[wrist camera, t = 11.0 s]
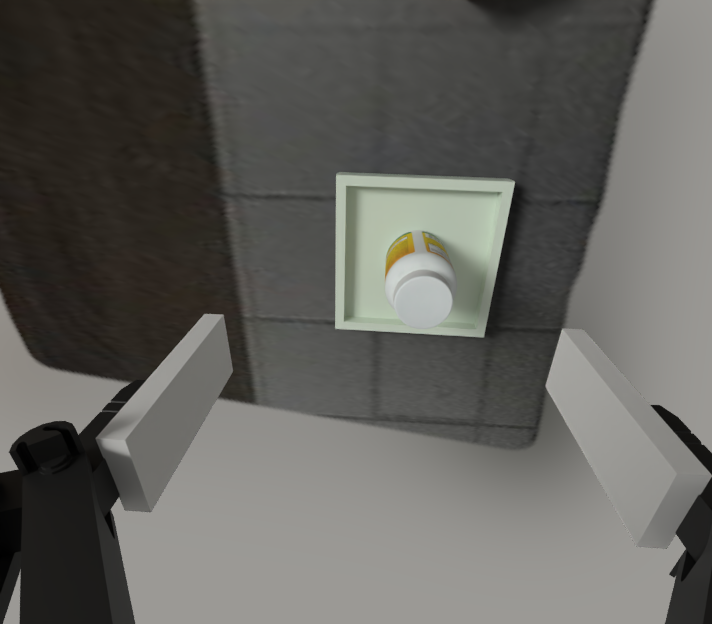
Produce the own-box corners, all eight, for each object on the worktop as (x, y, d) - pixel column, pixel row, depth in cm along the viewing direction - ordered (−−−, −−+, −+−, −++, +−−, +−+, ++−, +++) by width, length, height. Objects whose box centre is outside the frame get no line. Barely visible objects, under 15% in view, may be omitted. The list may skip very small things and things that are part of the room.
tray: (338, 171, 33) (336, 174, 31) (508, 178, 32) (515, 181, 30) (337, 319, 39) (335, 328, 37) (479, 328, 38) (483, 337, 37)
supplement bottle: (447, 227, 34) (468, 265, 25) (444, 285, 36) (461, 338, 27) (384, 229, 34) (383, 266, 25) (385, 286, 36) (384, 338, 28)
